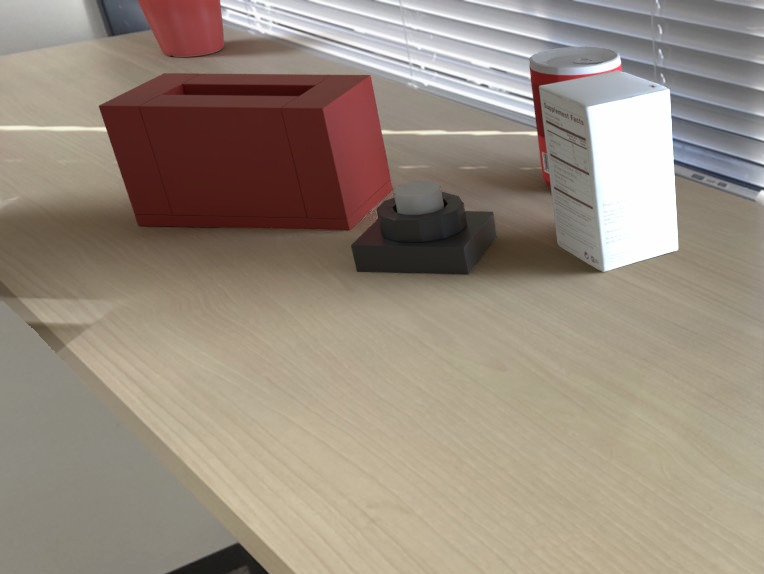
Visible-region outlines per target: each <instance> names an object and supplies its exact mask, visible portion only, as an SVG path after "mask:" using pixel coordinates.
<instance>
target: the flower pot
mask: <svg viewBox="0 0 764 574" xmlns="http://www.w3.org/2000/svg"><path fill="white" fill-rule="evenodd" d="M137 2H138V4H139V7H140V9H141V11H142V13H143V15H144V18H145V19H146V22H147V24H148V26H149V28H150V30H151V31H152V34H153V36H154V38H155V40H156V42H157V44H158V46H159V49H160V50H161V53H162V54H163V55H165V56H168V57H174V58H175V57H176V58H188V57H189V58H191V57H192V58H193V57H199V56H206V55H209V54H210V55H211V54H213V53H217V52H219V51H221V50H222V49H224V48H225V36H224V22H223V14H222V5H221V0H137Z"/></svg>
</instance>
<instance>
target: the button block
mask: <svg viewBox="0 0 764 574" xmlns="http://www.w3.org/2000/svg"><path fill="white" fill-rule="evenodd" d="M441 192H442V198H443V203H444V209H441V210H439V211H436V212H433V213H428V214H422V215H403V214H400V213H397V208H396V202H395V197H392V198H388V199H385V200H384V201H383V202H381V204H380V205H379V206H378V207H376V213H377V214H376V215H377V219H376V220H375V221H374V222H373V223H372V224H371V225H370V226H368V228H367V229H366V230H365V231H363V233H362V234H361V235H360V236H358V238H356V239H355V241H354V242H352V243H351V245H350V248H351V252H352V258H353V261H354V266H355V270H356V273H381V274H382V273H384V274H386V273H387V274H419V275H421V274H423V275H424V274H425V275H456V276H460V275H461V276H469V275H470V273H471V272H472V271H473V270H474V269H475V267H476V266H477V264H478V263H479V261H480V260H481V259H482V258H483V256H484V255H485V254H486V253H487V251H488V250H489V248H490V247H491V246H492V244H493V243H494V242H495V240H496V239H498V235H497V228H496V220H495V214H494V211H481V210H479V211H477V210H466V209H465V203H464V201H463V199H462V198H461V197H460V196H459V195H456V194H452V193H448V192H446V191H441Z"/></svg>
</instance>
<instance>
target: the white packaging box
mask: <svg viewBox="0 0 764 574" xmlns="http://www.w3.org/2000/svg"><path fill="white" fill-rule="evenodd" d="M539 91H540V100H541V108H542V117H543V125H544V133H545V141H546V150H547V157H548V166H549V174H550V184H551V189H550V191H551V199H552V210H553V217H554V225H555V235H556V242H557V245H558V246H559V247H560V248H561V249H562V250H564V251H566V252H567V253H569V254H571V255H573V256H574V257H576V258H578V259H579V260H581V261H582V262H584V263H586V264H588V265H589V266H591V267H593V268H595V269H596V270H598V271H600V272H602V273H606V272H608V271H612V270H615V269H618V268H622V267H625V266H628V265H631V264H635V263H638V262H639V263H640V262H642V261H646V260H650V259H652V258H656V257H659V256H662V255H665V254H666V255H667V254H670V253H673V252H677V251H679V237H678V221H677V220H678V219H677V204H676V203H677V201H676V185H675V183H676V182H675V167H674V166H675V165H674V164H675V163H674V149H673V131H672V129H673V127H672V114H671V93H670V89H669V88H667V87H666V86H664V85H662V84H659V83H656V82H655V81H651V80H648V79H645V78H643V77H639V76H637V75H634V74H631V73H628V72H625V71H623V70H622V71H619V70H616V71H612V72H607V73H602V74H597V75H593V76H588V77H583V78H577V79H572V80H567V81H562V82H557V83H552V84H547V85H541V86H539Z"/></svg>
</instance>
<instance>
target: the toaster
mask: <svg viewBox="0 0 764 574" xmlns="http://www.w3.org/2000/svg"><path fill="white" fill-rule="evenodd" d="M98 109H99V111H100V115H101V118H102V121H103V124H104V126H105V127H104V128H105V130H106V133H107V136H108V139H109V142H110V144H111V148H112V151H113V154H114V157H115V160H116V163H117V166H118V169H119V172H120V176H121V179H122V181H123V184H124V187H125V190H126V193H127V197H128V199H129V203H130V206H131V208H132V212H133V214H134V219H135V220H136V224H137V226H139V227H176V228H177V227H178V228H179V227H181V228H182V227H183V228H224V229H226V228H228V229H229V228H230V229H270V230H272V229H273V230H275V229H276V230H312V231H313V230H315V231H316V230H317V231H318V230H319V231H351V230H352V229H353V228H354V227H355V226H356V225H357V224H358V223H359V222H361V220H362V219H364V217H366V216H367V215H368V214H369V213H370V212H371V211H372V210H373V209H374V208H375V207H376V206H377V205H378V204H379V203H380V202H382V200H383V199H384V198H386V197H387V196H388V195H389V194H390V193H391V192H393V191H394V187H393V183H392V179H391V172H390V167H389V162H388V157H387V152H386V147H385V141H384V135H383V132H382V127H381V121H380V116H379V115H380V114H379V109H378V106H377V101H376V96H375V91H374V85H373V80H372V75H371V74H310V73H309V74H305V73H304V74H302V73H301V74H298V73H294V74H293V73H292V74H290V73H286V74H285V73H284V74H283V73H199V72H198V73H195V72H194V73H192V72H191V73H189V72H188V73H186V72H185V73H184V72H183V73H182V72H181V73H180V72H177V73H176V72H164V73H162V74H159V75H157V76H156V77H153V78H151V79H150V80H147V81H146V82H143V83H142V84H139V85H138V86H135V87H134V88H132V89H129V90H126V92H122V93H121V94H119V95H117V96H115V97H113V98H111V99H109V100H107V101H105V102H103V103H101V104H99V105H98ZM372 208H373V209H372ZM371 209H372V210H371ZM370 210H371V211H370ZM369 211H370V212H369Z"/></svg>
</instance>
